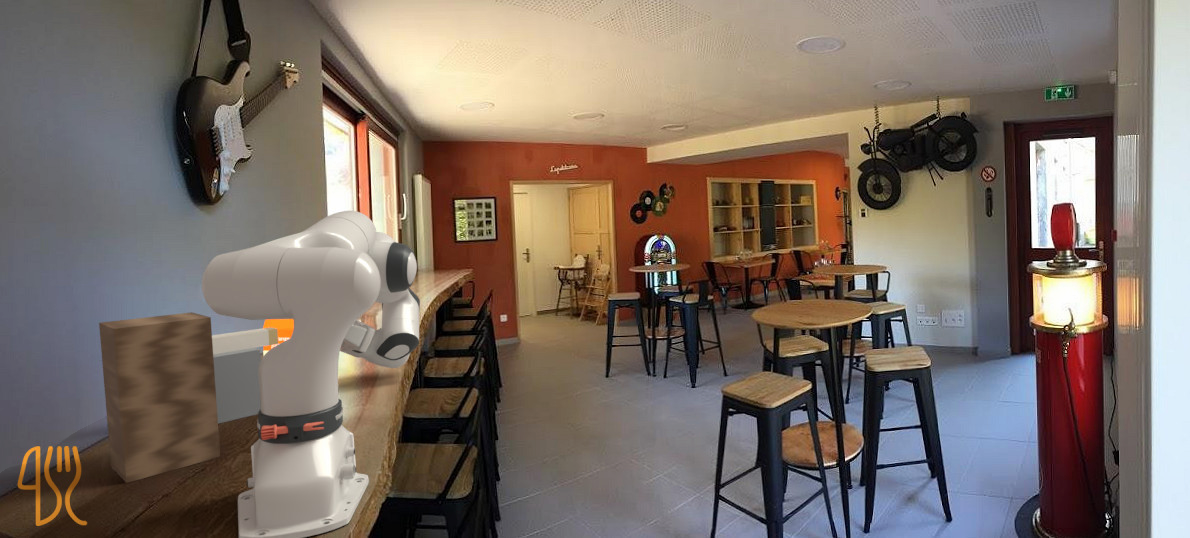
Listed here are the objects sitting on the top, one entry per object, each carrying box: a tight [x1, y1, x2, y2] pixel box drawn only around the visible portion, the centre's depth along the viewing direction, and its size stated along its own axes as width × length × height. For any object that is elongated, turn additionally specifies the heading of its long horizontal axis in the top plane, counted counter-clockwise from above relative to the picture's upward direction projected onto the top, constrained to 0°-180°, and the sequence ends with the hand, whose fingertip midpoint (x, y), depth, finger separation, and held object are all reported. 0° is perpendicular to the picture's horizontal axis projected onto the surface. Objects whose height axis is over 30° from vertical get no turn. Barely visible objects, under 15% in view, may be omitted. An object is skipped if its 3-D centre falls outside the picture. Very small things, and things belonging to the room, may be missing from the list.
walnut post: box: [98, 312, 221, 484], centre depth 108 cm, size 14×10×26 cm
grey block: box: [213, 347, 262, 425], centre depth 135 cm, size 10×10×14 cm
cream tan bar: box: [212, 327, 278, 354], centre depth 135 cm, size 20×4×4 cm, turn 140°
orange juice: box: [262, 319, 294, 356], centre depth 166 cm, size 8×9×20 cm
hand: (305, 317), depth 148 cm, fingers open, 8 cm apart
